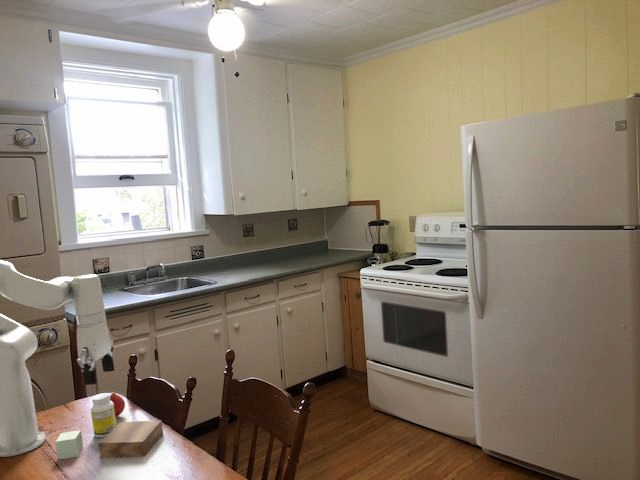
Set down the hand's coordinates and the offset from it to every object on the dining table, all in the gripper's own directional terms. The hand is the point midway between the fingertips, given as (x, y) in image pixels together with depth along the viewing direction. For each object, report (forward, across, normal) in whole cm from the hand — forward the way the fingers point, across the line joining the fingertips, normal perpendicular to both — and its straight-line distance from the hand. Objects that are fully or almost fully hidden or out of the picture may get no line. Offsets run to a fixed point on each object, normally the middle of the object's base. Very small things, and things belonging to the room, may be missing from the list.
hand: (100, 377), depth 147 cm
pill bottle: (+17, 0, -1) cm, 17 cm away
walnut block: (+17, +8, +11) cm, 22 cm away
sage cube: (+16, +11, -5) cm, 20 cm away
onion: (+17, -10, -3) cm, 20 cm away
